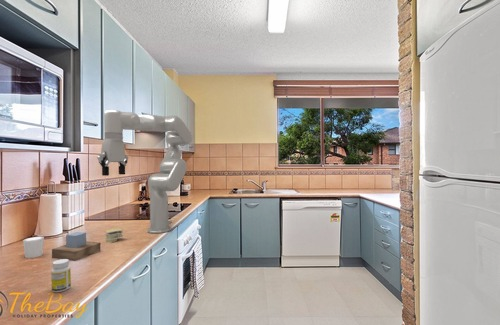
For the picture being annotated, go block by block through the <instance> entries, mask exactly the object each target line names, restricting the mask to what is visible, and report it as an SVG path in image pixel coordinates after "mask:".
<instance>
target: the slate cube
mask: <svg viewBox="0 0 500 325" xmlns="http://www.w3.org/2000/svg"><path fill="white" fill-rule="evenodd" d="M86 241H87V232H83V231H75V232H72V233H69V234H66V235H65V245H66V247H69V248H78V247H81V246H83V245H86Z"/></svg>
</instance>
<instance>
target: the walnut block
mask: <svg viewBox="0 0 500 325" xmlns="http://www.w3.org/2000/svg"><path fill="white" fill-rule="evenodd" d="M99 252H101V242H98V241H97V242H95V241H87V240H86V245H83V246H81V247H78V248H69V247H66V244H64V245H61V246H57V247H55V248H52V249H51V258H52V259H57V260H60V259H68V260H69V261H74V262H76V261H78V260H81V259H83V258H86V257H89V256H91V255H94V254H96V253H99Z"/></svg>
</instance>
